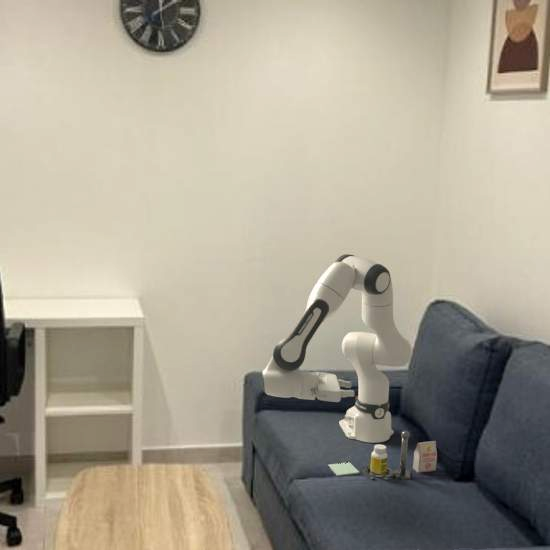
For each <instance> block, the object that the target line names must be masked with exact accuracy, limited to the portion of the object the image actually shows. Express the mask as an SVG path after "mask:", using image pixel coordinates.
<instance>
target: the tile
mask: <svg viewBox="0 0 550 550" xmlns="http://www.w3.org/2000/svg"><path fill="white" fill-rule="evenodd" d="M347 462H348V463H346V462H341V464H340V462H339V464H338V463H331V464H327V467H328V466H329V467H330V468H329V467H328V468H329V470H331V471H332V472H333V474H334V475H336V476H337V477H343V476H349V475H357V474H360V471H359V470H358V469H357V468H356V467H355V466H354V465H353V464H352V463H351V462H350V461H347ZM345 463H346V464H345Z"/></svg>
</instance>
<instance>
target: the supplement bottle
mask: <svg viewBox="0 0 550 550" xmlns="http://www.w3.org/2000/svg"><path fill="white" fill-rule="evenodd" d="M388 457H389V456H388V453H387V446H386V445H384V444H380V443H379V444H375V445H374V446H373V451H372V452H371V455H370V465H371V466H370V470H369V473H370V474H372V475H374V476H375V478H383V476H385V475H387V472H386V470H387V467H388V459H389V458H388Z"/></svg>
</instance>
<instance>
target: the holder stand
mask: <svg viewBox="0 0 550 550" xmlns="http://www.w3.org/2000/svg"><path fill="white" fill-rule="evenodd" d="M400 435H401V436H400V437H401V446H400V447H401V448H400V457H399V458H400V459H399V460H400V461H399V469H394V470H393V469H392V468H391V467H389V466H387V470H386V473H387V474H386V475H385V476H383V477H382V479H383V478H391V479H397V478H404V479H403V480H411V472H410V470H407V457H408V444H409V438H410V432H409V431H408V430H403V431H402V432H401V433H400ZM370 466H371V464H369V465H366V466H363V467H362V474H363V477H365V476H367V477H375V478H376V476H374V475H372V474H370V472H369V471H370ZM368 470H369V471H368ZM367 477H366V478H367Z"/></svg>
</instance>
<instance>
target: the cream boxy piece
mask: <svg viewBox="0 0 550 550" xmlns="http://www.w3.org/2000/svg"><path fill="white" fill-rule="evenodd" d="M437 451H438V450H437V442H436V440H434V441H433V440H431V441H423V442H417V444H416V447H415V449H414V451H413V464H412V469H413V470H414V471H415V472H417V473H418V474H421V473H429V472H436V471H437V470H436V469H437V459H438V452H437Z"/></svg>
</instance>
